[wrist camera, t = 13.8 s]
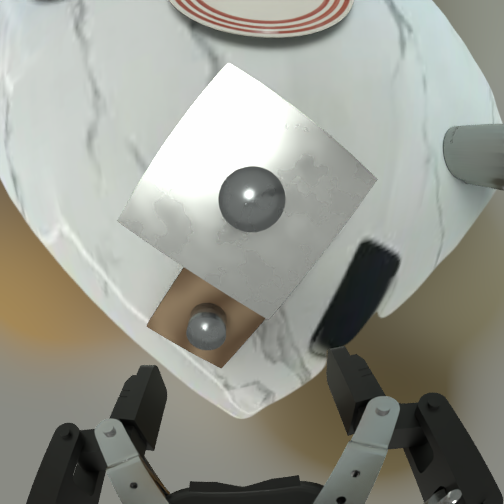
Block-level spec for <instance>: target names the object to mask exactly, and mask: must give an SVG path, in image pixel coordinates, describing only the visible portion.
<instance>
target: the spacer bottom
mask: <svg viewBox="0 0 504 504" xmlns="http://www.w3.org/2000/svg"><path fill="white" fill-rule="evenodd" d="M218 202H219V208H220V211H221V213H222V215H223V217H224V218H225V220H226V221H227V222H228V223H229V224H230V225H231V226H233V227H234V228H236V229H238V230H240V231H244V232H259V231H263V230H266V229H268V228H269V227H271V226H272V225H274V224H275V223H276V222H277V221H278V219H279V218H280V216H281V215H282V213H283V210H284V207H285V191H284V188H283V185H282V184H281V182H280V180H279V179H278V178H277V177H276V176H275V175H274V174H273V173H272V172H270V171H269V170H267V169H264V168H261V167H257V166H247V167H243V168H240V169H237V170H236V171H234V172H232V173H231V174H230V175H229V176H228V177H227V178H226V179H225V180H224V182H223V184H222V186H221V188H220V191H219V197H218Z"/></svg>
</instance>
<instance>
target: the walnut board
mask: <svg viewBox="0 0 504 504" xmlns="http://www.w3.org/2000/svg"><path fill="white" fill-rule="evenodd" d="M201 303H213V304H216V305H218V306H219V307H220V308H222V310H223V311H224V312H225V315H226V339H225V341H224V343H223V344H222V345H221V346H220V347H219V348H217V349H214V350H201V349H198V348H196V347H194V346H193V345H192V344H191V343H190V342H189V340H188V338H187V335H186V330H187V326H188V322H189V318H190V314H191V311H192V310H193V308H194V307H195V306H197V305H199V304H201ZM264 320H265V318H264V317H263V316H261V315H259V314H258V313H256V312H254V311H253V310H251V309H249V308H248V307H246V306H244V305H243V304H241V303H240V302H238V301H236V300H235V299H233V298H232V297H230V296H228V295H227V294H225V293H224V292H222V291H220V290H219V289H217V288H216V287H214V286H212V285H211V284H209V283H208V282H206V281H205V280H203V279H202V278H200V277H198V276H197V275H195V274H194V273H192V272H191V271H189V270H188V269H186V268H185V267H184V268H183V269H182V271H181V272H180V274H179V275H178V277H177V278H176V280H175V281H174V283H173V284H172V286H171V287H170V289H169V291H168V292H167V294H166V295H165V297H164V298H163V300H162V301H161V303H160V305H159V306H158V308H157V309H156V311H155V312H154V314H153V316H152V317H151V319H150V320H149V322H148V324H147V327H148V328H150V329H152V330H153V331H155V332H157V333H158V334H160V335H162V336H163V337H165V338H167V339H168V340H170V341H172V342H173V343H175V344H177V345H179V346H180V347H182V348H184V349H186V350H188V351H189V352H191V353H193V354H195V355H197V356H199V357H200V358H202V359H204V360H206V361H208V362H210V363H212V364H214V365H216V366H218V367H220V368H222V367H223V366H224V365H225V364H226V363H227V362H228V361H229V359H230V358H231V357H232V356H233V355H234V354H235V353H236V352H237V351H238V349H239V348H240V347H241V346H242V345H243V344H244V343H245V341H246V340H247V339H248V338H249V337H250V336H251V335H252V333H253V332H254V331H255V330H256V329H257V328H258V327H259V325H260V324H261V323H262V322H263V321H264Z"/></svg>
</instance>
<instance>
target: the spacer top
mask: <svg viewBox="0 0 504 504" xmlns="http://www.w3.org/2000/svg"><path fill="white" fill-rule="evenodd" d="M186 335H187V338H188V340H189V342H190V343H191V344H192V345H193V346H194V347H196V348H198V349H201V350H214V349H217V348H219V347H220V346H221V345H222V344H223V343H224V341H225V339H226V315H225V312H224V311H223V310H222V308H220V307H219V306H218V305H216V304H213V303H201V304H199V305H197V306H195V307H194V308H193V310H192V311H191V314H190V318H189V322H188V326H187V330H186Z"/></svg>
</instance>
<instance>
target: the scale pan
mask: <svg viewBox="0 0 504 504" xmlns="http://www.w3.org/2000/svg"><path fill="white" fill-rule="evenodd" d="M247 166H257V167H261V168H264V169H267V170H269V171H270V172H272V173H273V174H274V175H275V176H276V177H277V178H278V179H279V180H280V182H281V184H282V185H283V188H284V191H285V207H284V210H283V213H282V215H281V216H280V218H279V219H278V221H277V222H276V223H275V224H274V225H272V226H271V227H269V228H268V229H266V230H263V231H259V232H244V231H240V230H238V229H236V228H234V227H233V226H231V225H230V224H229V223H228V222H227V221H226V220H225V218H224V217H223V215H222V213H221V211H220V208H219V202H218V197H219V191H220V188H221V186H222V184H223V182H224V180H225V179H226V178H227V177H228V176H229V175H230V174H231V173H232V172H234V171H236V170H237V169H240V168H243V167H247ZM377 180H378V179H377V178H376V177H375V176H374V175H373V174H372V173H371V172H370V171H369V170H368V169H366V168H365V167H364V166H363V165H362V164H361V163H360V162H359V161H358V160H357V159H356V158H355V157H354V156H353V155H352V154H351V153H349V152H348V151H347V150H346V149H345V148H344V147H343V146H342V145H340V144H339V143H338V142H337V141H336V140H335V139H334V138H332V137H331V136H330V135H329V134H328V133H327V132H325V131H324V130H323V129H322V128H321V127H319V126H318V125H317V124H316V123H314V122H313V121H312V120H311V119H309V118H308V117H307V116H306V115H304V114H303V113H302V112H300V111H299V110H298V109H296V108H295V107H294V106H292V105H291V104H290V103H288V102H287V101H286V100H284V99H283V98H282V97H280V96H279V95H277V94H276V93H275V92H273V91H272V90H270V89H269V88H267V87H266V86H264V85H263V84H261V83H260V82H258V81H257V80H255V79H254V78H252V77H251V76H249V75H248V74H246V73H245V72H243V71H241V70H240V69H238V68H237V67H235V66H233V65H232V64H230V63H228V64H227V65H226V66H225V67H224V68H223V69H222V70H221V71H220V72H219V74H218V75H217V76H216V77H215V78H214V79H213V81H212V82H211V83H210V84H209V85H208V87H207V88H206V89H205V90H204V91H203V93H202V94H201V95H200V96H199V98H198V99H197V100H196V101H195V103H194V104H193V105H192V106H191V108H190V109H189V110H188V112H187V113H186V114H185V116H184V117H183V118H182V120H181V121H180V122H179V124H178V125H177V126H176V128H175V129H174V130H173V132H172V133H171V135H170V136H169V137H168V139H167V140H166V142H165V143H164V145H163V146H162V148H161V149H160V151H159V152H158V154H157V155H156V157H155V158H154V160H153V161H152V163H151V164H150V166H149V167H148V169H147V170H146V172H145V174H144V175H143V177H142V178H141V180H140V182H139V183H138V185H137V187H136V188H135V190H134V192H133V193H132V195H131V197H130V199H129V200H128V202H127V204H126V206H125V207H124V209H123V211H122V213H121V215H120V217H119V218H118V220H117V221H118V222H119V223H121V224H122V225H123V226H125V227H126V228H128V229H129V230H130V231H132V232H133V233H135V234H136V235H137V236H139V237H140V238H142V239H143V240H145V241H146V242H148V243H149V244H150V245H152V246H153V247H155V248H156V249H158V250H159V251H161V252H162V253H164V254H165V255H167V256H168V257H170V258H171V259H173V260H174V261H176V262H177V263H179V264H180V265H182V266H183V267H185V268H186V269H188V270H189V271H191V272H192V273H194V274H195V275H197V276H198V277H200V278H202V279H203V280H205V281H206V282H208V283H209V284H211V285H212V286H214V287H216V288H217V289H219V290H220V291H222V292H224V293H225V294H227V295H228V296H230V297H232V298H233V299H235V300H236V301H238V302H240V303H241V304H243V305H244V306H246V307H248V308H249V309H251V310H253V311H254V312H256V313H258V314H259V315H261V316H263V317H264V318H266V319H268V320H269V319H270V318H271V316H272V315H273V314H274V313H275V312H276V311H277V309H278V308H279V307H280V306H281V305H282V303H283V302H284V301H285V300H286V299H287V297H288V296H289V295H290V294H291V293H292V291H293V290H294V289H295V288H296V286H297V285H298V284H299V283H300V282H301V280H302V279H303V278H304V277H305V275H306V274H307V273H308V272H309V270H310V269H311V268H312V267H313V265H314V264H315V263H316V262H317V260H318V259H319V258H320V256H321V255H322V254H323V253H324V251H325V250H326V249H327V247H328V246H329V245H330V244H331V242H332V241H333V240H334V238H335V237H336V236H337V234H338V233H339V232H340V230H341V229H342V228H343V226H344V225H345V224H346V222H347V221H348V220H349V218H350V217H351V216H352V214H353V213H354V212H355V210H356V209H357V208H358V206H359V205H360V203H361V202H362V201H363V199H364V198H365V197H366V195H367V194H368V192H369V191H370V189H371V188H372V187H373V185H374V184H375V182H376V181H377Z"/></svg>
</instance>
